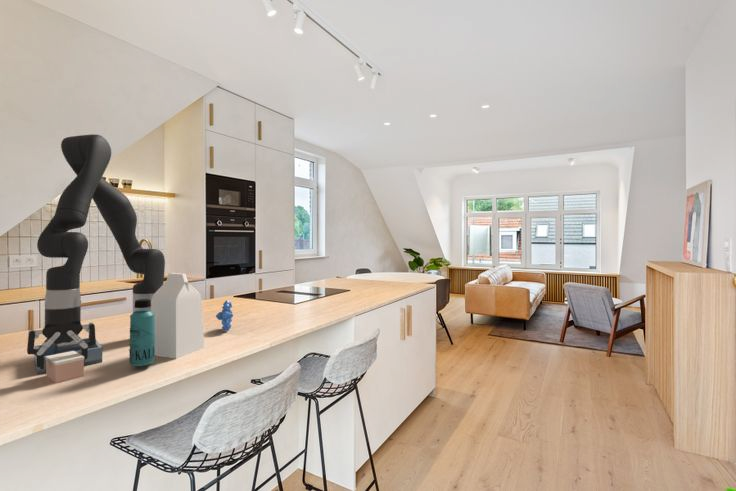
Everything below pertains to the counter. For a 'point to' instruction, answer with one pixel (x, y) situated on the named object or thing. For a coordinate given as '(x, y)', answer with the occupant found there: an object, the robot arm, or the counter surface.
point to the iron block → (66, 347)
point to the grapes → (225, 315)
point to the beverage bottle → (142, 334)
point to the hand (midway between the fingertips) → (62, 364)
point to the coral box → (64, 366)
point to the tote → (93, 351)
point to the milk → (177, 318)
